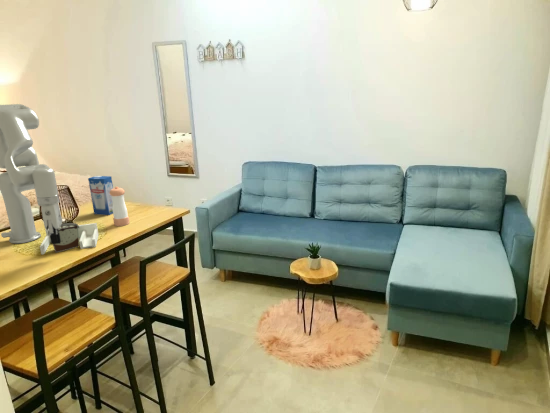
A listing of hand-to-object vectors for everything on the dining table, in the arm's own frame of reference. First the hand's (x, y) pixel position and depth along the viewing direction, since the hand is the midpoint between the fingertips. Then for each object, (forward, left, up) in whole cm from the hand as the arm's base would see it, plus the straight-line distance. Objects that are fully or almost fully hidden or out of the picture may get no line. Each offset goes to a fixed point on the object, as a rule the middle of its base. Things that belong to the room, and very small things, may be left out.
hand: (56, 242), depth 164 cm
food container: (+1, +10, -6) cm, 12 cm away
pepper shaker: (+23, +34, -6) cm, 42 cm away
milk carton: (+14, +58, -6) cm, 60 cm away
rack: (+3, +13, -6) cm, 15 cm away
